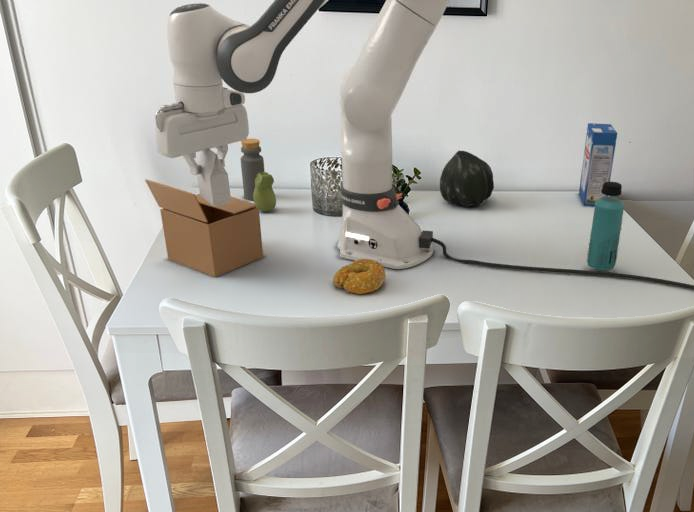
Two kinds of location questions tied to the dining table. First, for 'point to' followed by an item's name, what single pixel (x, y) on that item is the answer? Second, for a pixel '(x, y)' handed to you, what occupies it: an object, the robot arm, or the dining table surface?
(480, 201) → the squash
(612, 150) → the milk carton
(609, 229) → the beverage bottle
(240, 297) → the dining table surface
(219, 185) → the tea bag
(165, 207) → the flap
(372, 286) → the bagel
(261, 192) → the pear
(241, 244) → the carton
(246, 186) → the bottle
